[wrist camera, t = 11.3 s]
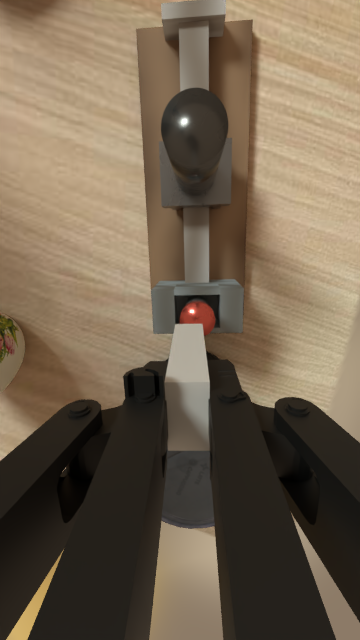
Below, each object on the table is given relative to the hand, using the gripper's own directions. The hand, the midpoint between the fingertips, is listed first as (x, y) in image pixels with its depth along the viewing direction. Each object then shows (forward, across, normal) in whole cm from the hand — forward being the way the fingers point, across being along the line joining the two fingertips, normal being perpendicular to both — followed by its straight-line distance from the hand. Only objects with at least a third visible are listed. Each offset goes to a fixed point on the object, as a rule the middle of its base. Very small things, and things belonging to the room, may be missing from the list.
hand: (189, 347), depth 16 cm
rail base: (+17, +1, +10) cm, 20 cm away
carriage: (+15, +1, +11) cm, 19 cm away
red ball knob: (+12, +1, -1) cm, 12 cm away
